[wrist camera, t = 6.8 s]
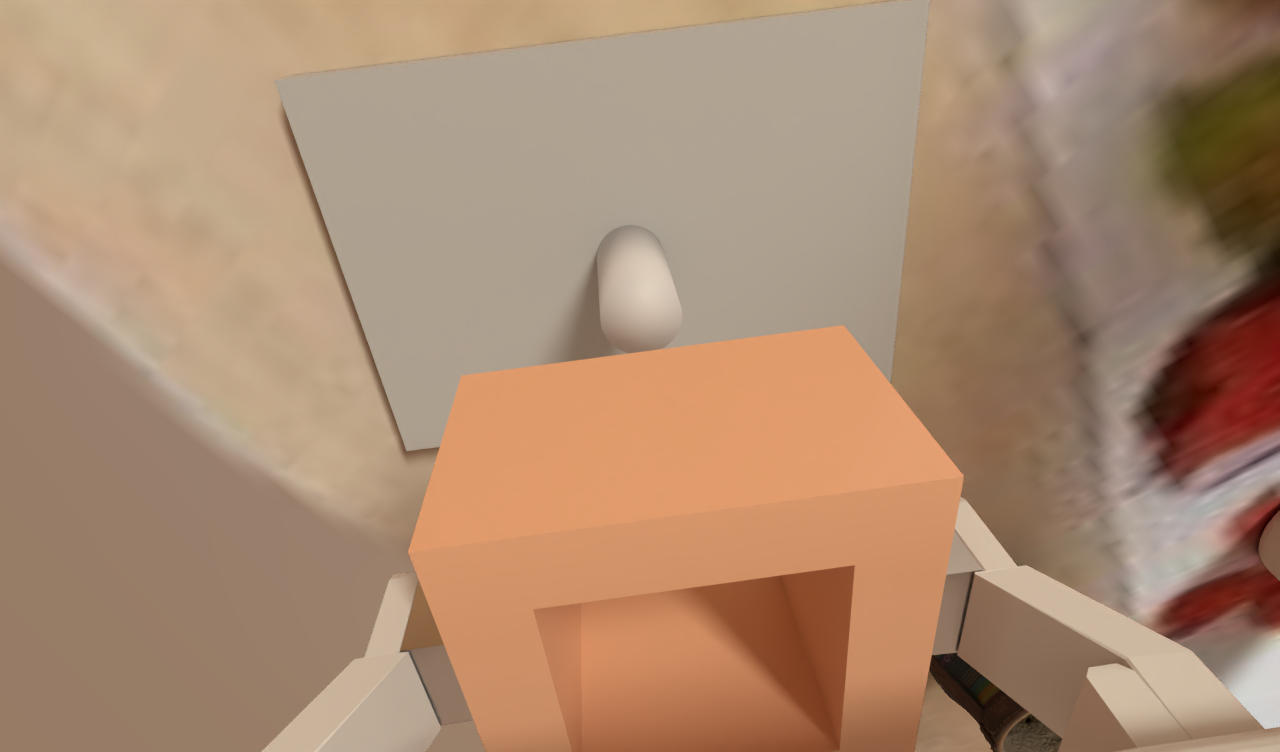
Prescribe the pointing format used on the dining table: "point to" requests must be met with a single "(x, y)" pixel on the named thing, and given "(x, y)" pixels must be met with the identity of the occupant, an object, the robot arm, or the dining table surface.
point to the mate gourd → (992, 708)
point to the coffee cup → (1271, 546)
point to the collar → (690, 550)
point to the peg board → (618, 194)
